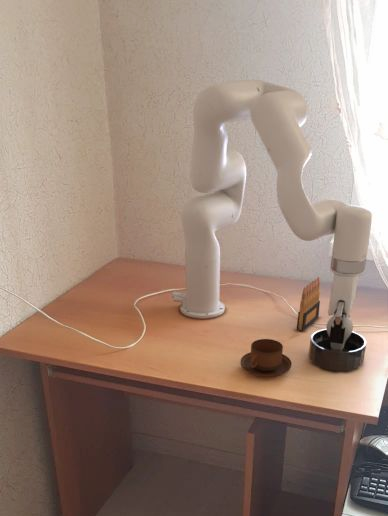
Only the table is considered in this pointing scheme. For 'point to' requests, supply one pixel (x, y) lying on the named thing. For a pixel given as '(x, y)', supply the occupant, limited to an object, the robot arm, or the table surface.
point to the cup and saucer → (266, 359)
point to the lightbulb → (348, 331)
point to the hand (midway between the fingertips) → (338, 333)
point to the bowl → (337, 352)
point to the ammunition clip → (309, 305)
